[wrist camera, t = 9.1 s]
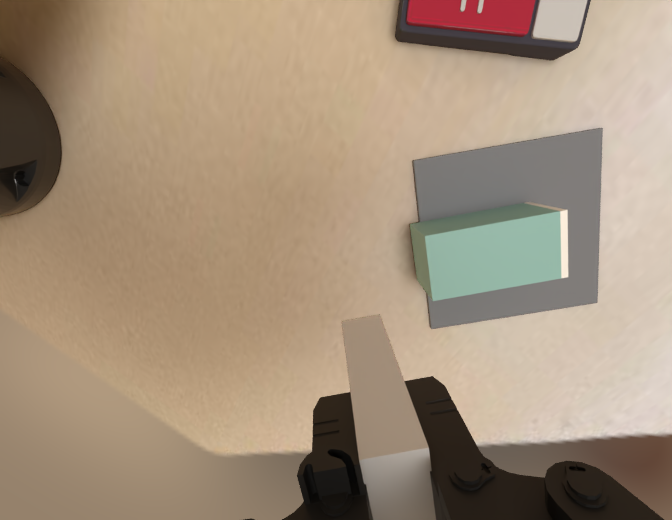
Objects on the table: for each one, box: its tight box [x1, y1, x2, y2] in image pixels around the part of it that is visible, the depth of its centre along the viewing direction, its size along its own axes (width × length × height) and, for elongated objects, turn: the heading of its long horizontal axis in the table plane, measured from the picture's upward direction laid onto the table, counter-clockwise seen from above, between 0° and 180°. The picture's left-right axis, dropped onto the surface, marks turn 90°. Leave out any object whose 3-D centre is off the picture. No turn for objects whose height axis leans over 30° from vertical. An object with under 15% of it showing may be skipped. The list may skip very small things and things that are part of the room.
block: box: [410, 202, 568, 301], centre depth 34 cm, size 6×6×12 cm
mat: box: [413, 128, 603, 329], centre depth 37 cm, size 18×18×1 cm
